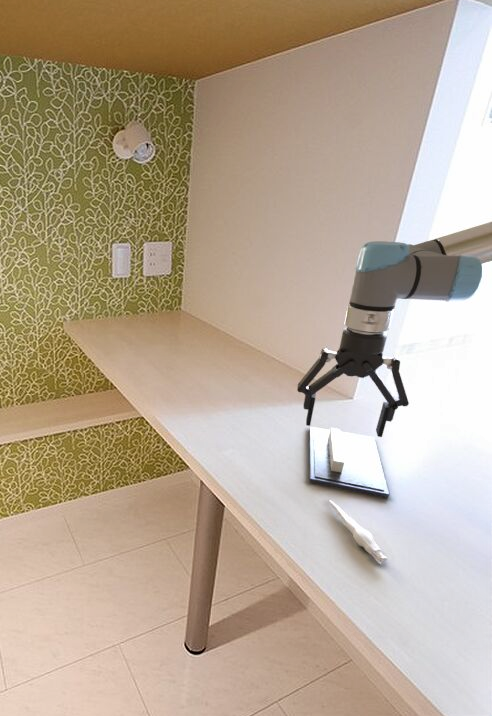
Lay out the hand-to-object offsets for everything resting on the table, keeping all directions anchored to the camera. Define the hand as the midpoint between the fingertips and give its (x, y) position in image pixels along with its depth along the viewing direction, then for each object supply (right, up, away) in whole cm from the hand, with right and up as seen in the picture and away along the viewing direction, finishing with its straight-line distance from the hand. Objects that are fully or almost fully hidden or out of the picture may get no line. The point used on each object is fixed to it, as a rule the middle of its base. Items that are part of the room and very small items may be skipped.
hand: (342, 428), depth 90 cm
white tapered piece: (-6, -17, -17) cm, 24 cm away
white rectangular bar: (0, -6, +3) cm, 6 cm away
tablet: (+2, -7, +3) cm, 8 cm away
